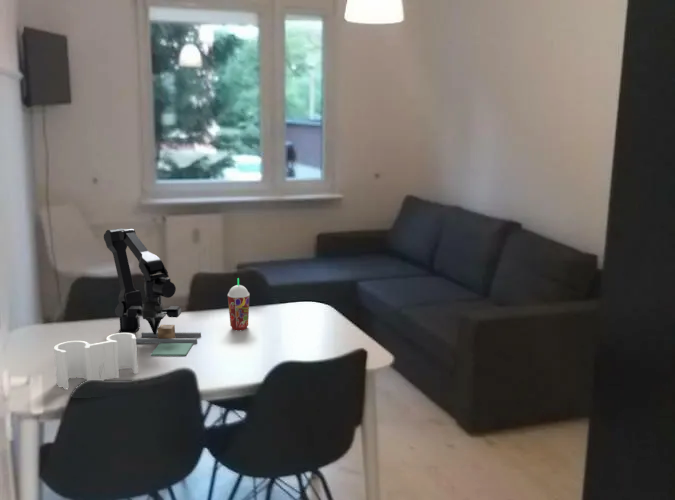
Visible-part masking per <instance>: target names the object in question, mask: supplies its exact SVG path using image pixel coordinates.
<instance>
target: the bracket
mask: <svg viewBox="0 0 675 500" xmlns="http://www.w3.org/2000/svg"><path fill="white" fill-rule="evenodd" d="M136 339H137V337H136V335H135V333H133V332H118V333H112V334H110V335H108V336H106V341H101V342H95V343H89V342H87V341H86V340H85V341H84V340H69V341H64V342H60V343H58V344H56V345H54V347H53V349H54V350H53V352H54V364H55V365H54V366H55V377H56V378H55V381H56V386H57V385H58V386H61V387H63V388H64V389H66V388H70V387H69V379H68V378H71V379H85V380H86V381H87V380H91V379H103V380H102V381H105V380H104V379H107V380H111V379H114V378H115V379H119V378H120V371H119V370H123V369H124V370H125V369H127V370H128V369H129V370H132V373H133V374H134V375H138V374H139V371H138V369H139V367H138V353H137V352H138V351H137V343H136ZM75 377H77V378H75ZM58 386H57V387H58ZM63 388H62V389H63ZM64 389H63V390H64Z"/></svg>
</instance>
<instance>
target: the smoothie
mask: <svg viewBox="0 0 675 500" xmlns="http://www.w3.org/2000/svg"><path fill="white" fill-rule="evenodd" d="M236 279H237V284H236V285H234V286H232V287H231V288H229V291H228V293H227V302H228V313H229V321H230V322H229V324H230V328H231V329H232V330H233V331H236V330H237V331H239V332H240V330H241V331H244V330H246V329H248V326H249V316H250V315H249V313H250V292H249V291H248V289H247V288H246V287H245V286H244V285H242V284H240V278H239V277H238V278H236Z"/></svg>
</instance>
